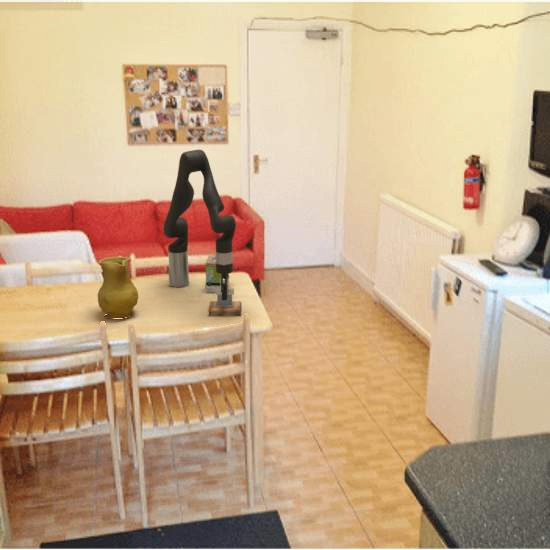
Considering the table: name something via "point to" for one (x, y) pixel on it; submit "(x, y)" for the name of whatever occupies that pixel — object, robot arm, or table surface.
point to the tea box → (212, 275)
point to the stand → (225, 310)
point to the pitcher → (117, 288)
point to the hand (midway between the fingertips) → (224, 296)
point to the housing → (224, 303)
